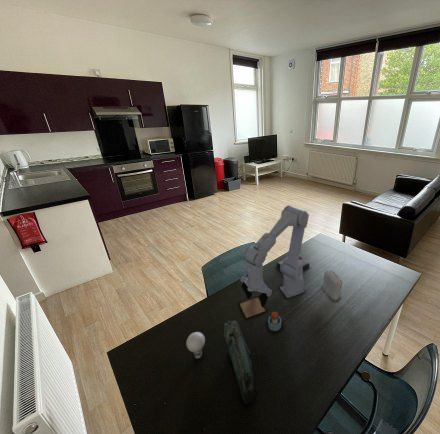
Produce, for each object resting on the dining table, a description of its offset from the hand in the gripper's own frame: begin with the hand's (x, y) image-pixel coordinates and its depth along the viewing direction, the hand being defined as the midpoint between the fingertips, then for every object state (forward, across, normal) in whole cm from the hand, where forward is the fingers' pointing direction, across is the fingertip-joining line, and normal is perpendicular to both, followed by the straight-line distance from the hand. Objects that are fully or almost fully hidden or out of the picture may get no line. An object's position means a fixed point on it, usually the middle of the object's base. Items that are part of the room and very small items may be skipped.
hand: (256, 301), depth 98 cm
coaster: (+10, -6, +3) cm, 12 cm away
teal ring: (+10, +8, +2) cm, 13 cm away
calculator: (+10, -6, +38) cm, 40 cm away
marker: (+10, +8, +2) cm, 13 cm away
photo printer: (+10, +19, +33) cm, 40 cm away
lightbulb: (+10, -6, -26) cm, 28 cm away
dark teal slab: (+10, +11, -21) cm, 26 cm away
